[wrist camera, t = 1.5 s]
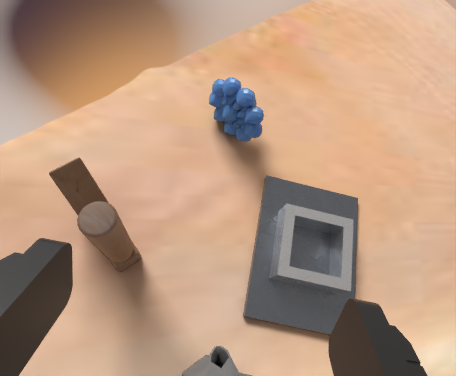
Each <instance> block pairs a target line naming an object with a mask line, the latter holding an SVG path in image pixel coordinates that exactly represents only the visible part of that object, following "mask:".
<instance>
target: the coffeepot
mask: <svg viewBox="0 0 456 376" xmlns="http://www.w3.org/2000/svg"><path fill="white" fill-rule="evenodd" d="M182 376H251V375H247V374H242V373H239V372H238V370H237V368H236V367H235V365H234V363H233V361H232V359H231V357H230V355H229V352H228V350H226V349H225V348H224V347H222V346H216V347H214V348H213V350H212V351H211V353H210V356H209V355H205V356H204V357H203V358H201V359H200V360H198V361H197V362H196V363H194V364H193V365H192V366H190V367H189V368H188V369H186V370H185V371H184V372H183V373H182Z"/></svg>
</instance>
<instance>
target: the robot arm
mask: <svg viewBox="0 0 456 376" xmlns="http://www.w3.org/2000/svg"><path fill="white" fill-rule="evenodd" d="M72 285H73V279H72V246H71V244H69V243H65V242H60V241H55V240H50V239H45V238H41V239H39V240H37V241H36V242H35V243H34V244H33V245H32V246H31V247H30V248H29V249H28V250H27V251H26V252H25V253H24V254H20V253H13V254H11V255H9V256H7V257H5V258H3V259H1V260H0V376H19V374H20V373H21V371H22V370H23V368H24V367H25V366H26V364H27V363H28V361H29V360H30V358H31V357H32V355H33V354H34V352H35V351H36V349H37V348H38V346H39V345H40V343H41V342H42V340H43V339H44V337H45V336H46V335H47V333H48V332H49V330H50V329H51V327H52V326H53V324H54V323H55V321H56V320H57V318H58V317H59V315H60V314H61V312H62V311H63V309H64V308H65V306H66V305H67V303H68V300H69V298H70V295H71V291H72ZM329 358H330V362H331V366H332V370H333V374H334V376H427V374H426V372H425V370H424V368H423V367H422V366H420V361H419V359H418V357H417V355H416V353H415V351H414V349H413V347H412V345H411V343H410V342H409V341H408V340H407V339H406V338H405V337H404V336H403V334H402V333H401V332H400V331H399V330H398V329H397V328H396V327H395V326H392V325H389V323H388V321H387V319H386V317H385V315H384V313H383V311H382V309H381V307H380V306H379V305H378V304H376V303H372V302H367V301H362V300H357V299H349V300H348V301H347V302H346V304H345V306H344V308H343V310H342V312H341V314H340V316H339V318H338V320H337V322H336V324H335V327H334V329H333V331H332V333H331V335H330V339H329Z"/></svg>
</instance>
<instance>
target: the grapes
mask: <svg viewBox="0 0 456 376" xmlns="http://www.w3.org/2000/svg"><path fill="white" fill-rule="evenodd" d="M209 104H210V105H212V106H214V107H217V108H216V109H215V111H214V119H215V120H217V121H219V122H225V124H224V132H225V133H227V134H229V135H236V139H238V140H240V141H243V142H247V141H250V139H251V138H257V137H259V136H260V135H261V133H262V125H261V124H260V123H261V121H262V120H263V117H264V114H263V110H262V109H261V108H259V107H257V106H256V99H255V94H254V92H253V91H252V90H250V89H248V88H242V89H241V82H240V81H239V80H237V79H235V78H228V79H226V80H222V79H218V80H216V81H215V82H214V84H213V87H212V93H211V95H210V98H209Z"/></svg>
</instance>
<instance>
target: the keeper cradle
mask: <svg viewBox="0 0 456 376" xmlns="http://www.w3.org/2000/svg"><path fill="white" fill-rule="evenodd" d="M357 211H358V198H355V197H351V196H347V195H343V194H339V193H335V192H331V191H327V190H323V189H319V188H315V187H311V186H307V185H303V184H299V183H295V182H291V181H286V180H282V179H278V178H274V177H270V176H266V178H265V182H264V189H263V195H262V201H261V207H260V214H259V220H258V226H257V232H256V238H255V245H254V251H253V257H252V263H251V270H250V276H249V282H248V288H247V294H246V301H245V307H244V313H243V316H244V317H249V318H254V319H258V320H263V321H268V322H272V323H277V324H282V325H286V326H291V327H296V328H300V329H305V330H310V331H315V332H319V333H324V334H329V335H331V333H332V331H333V329H334V327H335V324H336V322H337V320H338V318H339V316H340V314H341V312H342V310H343V308H344V306H345V304H346V302H347V301H348V300H349V299H355V276H356V244H357Z"/></svg>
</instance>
